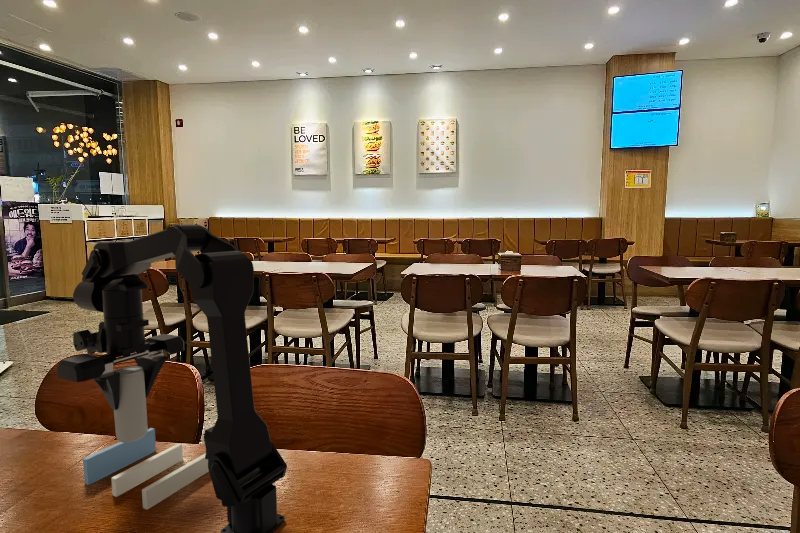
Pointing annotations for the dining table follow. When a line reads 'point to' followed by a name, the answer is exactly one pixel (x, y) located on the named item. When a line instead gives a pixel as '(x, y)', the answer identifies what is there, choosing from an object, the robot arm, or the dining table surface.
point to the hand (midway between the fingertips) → (130, 403)
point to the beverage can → (131, 405)
